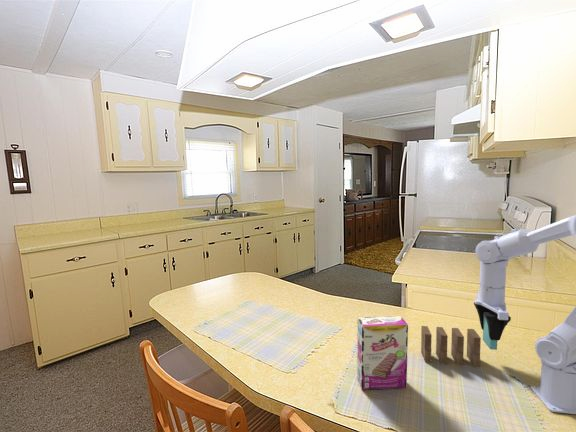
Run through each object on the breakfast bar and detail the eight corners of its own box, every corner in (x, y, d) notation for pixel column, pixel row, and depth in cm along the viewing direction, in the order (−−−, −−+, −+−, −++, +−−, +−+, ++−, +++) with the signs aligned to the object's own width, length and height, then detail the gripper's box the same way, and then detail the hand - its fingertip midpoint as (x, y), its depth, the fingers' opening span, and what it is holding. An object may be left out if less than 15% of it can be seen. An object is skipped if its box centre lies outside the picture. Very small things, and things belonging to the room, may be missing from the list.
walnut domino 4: (472, 356, 88) (473, 329, 87) (479, 366, 83) (480, 337, 82) (466, 355, 88) (467, 328, 88) (473, 366, 84) (473, 337, 83)
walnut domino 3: (457, 355, 89) (458, 328, 88) (463, 365, 84) (463, 336, 83) (451, 354, 89) (451, 327, 88) (456, 364, 84) (457, 336, 84)
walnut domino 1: (427, 352, 91) (427, 326, 90) (431, 362, 86) (431, 334, 85) (421, 352, 91) (421, 325, 90) (424, 361, 86) (425, 334, 85)
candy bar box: (362, 391, 75) (361, 326, 73) (356, 378, 80) (356, 316, 78) (408, 389, 75) (408, 323, 73) (400, 376, 80) (400, 314, 78)
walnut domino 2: (442, 353, 90) (442, 327, 89) (446, 363, 85) (447, 335, 84) (436, 353, 90) (436, 326, 89) (440, 363, 85) (441, 335, 84)
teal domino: (489, 340, 87) (490, 312, 86) (496, 349, 82) (498, 320, 81) (482, 339, 87) (483, 312, 86) (490, 349, 82) (491, 320, 81)
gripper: (466, 276, 90) (464, 321, 92) (486, 294, 76) (484, 347, 78) (493, 277, 89) (491, 322, 90) (519, 295, 75) (516, 349, 76)
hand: (490, 334), depth 84 cm, fingers closed on teal domino, 5 cm apart
